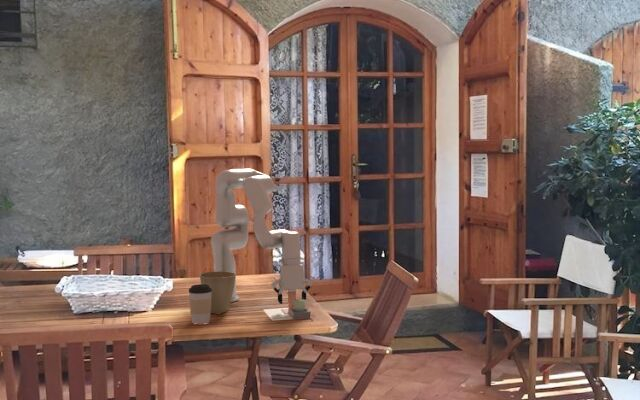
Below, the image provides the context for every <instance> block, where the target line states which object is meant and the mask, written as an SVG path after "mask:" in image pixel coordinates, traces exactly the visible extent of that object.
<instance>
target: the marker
mask: <svg viewBox="0 0 640 400" xmlns="http://www.w3.org/2000/svg"><path fill="white" fill-rule="evenodd" d="M287 297H288V298H287V305H288V306H287V308H288V311H289V312H290V310H289V309H294V300H296V299H297V289H294V290H287Z"/></svg>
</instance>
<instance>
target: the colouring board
mask: <svg viewBox="0 0 640 400" xmlns="http://www.w3.org/2000/svg"><path fill="white" fill-rule="evenodd" d="M263 312H264V313H265V314H266V315H267V316H268V317H269V318H270V320H271V321H272V322H273V321H284V320H285V321H287V320H294V319H293V318H292V317H291V316H290V312H289V311H288V307H281V308H280V307H278V308H267V309H266V308H265V309H263ZM312 318H313V317H312V316H311V318H310V319H312ZM299 319H301V320H302V318H299ZM299 319H298V320H299Z"/></svg>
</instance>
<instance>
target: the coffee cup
mask: <svg viewBox="0 0 640 400" xmlns="http://www.w3.org/2000/svg"><path fill="white" fill-rule="evenodd" d="M211 289H212V288H210V287H209V285H204V284H201V283H199V284H194V285H191V286H190V287H189V289H188V294H189V297H188V299H189V307H190V310H189V311H190V313H191V323H197V324H203V325H205V324H204V323H208V324H210V323H211V313H210V312H211V291H212V290H211ZM209 322H210V323H209Z"/></svg>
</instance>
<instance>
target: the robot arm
mask: <svg viewBox="0 0 640 400" xmlns="http://www.w3.org/2000/svg"><path fill="white" fill-rule="evenodd" d="M233 189H235V190H236V189H243V191H244V193H245V195H246V197H247V199H248V202H249V204H250V205H251V208H252V211H253V212H254V217H253V223H252V226H253V233H254V235H255V238H256V239H257V241H258V244H259V245H260V246H261V247H262V248H263V249H265V250H272V249H280V248H281V258H280V259H278V263H281V264H280V268H279V278H278V279H276V280H275V281H273V282H271V284H270V285H271V287H272V289H273V290H274V292H275V293H277V301H278V303H279V304H280V305H282V304H283V294H282V293H283V291H288V290H294V289H296V290H301V299H304V300H305V301H306V300H307V294H308V293H307V292H309V290H310V289H311V287H312V284H313V281H312V280H311V279H308V278H305V269H304V265H303V264H302V262H301V261H302V260H301V257H302V256H301V234H300V232H298V231H296V230H295V231H294V230H287V229H283V228H282V229H273V230H269V229H268V227H267V223H266V221H265V220H266V219H265V218H266V215H268V213H271V211H272V210H273V208H274V204H273V202H272V199H271V198H270V196H269V195H270V194H272V193H273V192H274V190H275V182H274V180H273V178H272V177H271V176H269V175H268V174H265V173H262V172H260V171H257V170H255V169H252V168H231V169H230V168H229V169H225V170H223V171H220V172H219V173H218V175H217V176H216V179H215V193H216V200H215V202H216V204H215V223H216V225H217V226H218V227H221V228H226V229H221V230H217V231H215V232H214V233H213V234H212V235H211V238H210V244H211V248H212V249H211V250H212V255H213V269H214V270H213V272H216V271H224V272H232V273H235V274H236V275H237V273H236V259H235V256H234V254H233V253H232V252H233V251H234V250H242V249H243V248H245V247H246V246H247V243H248V240H249V225H250V215H249V211H248V209H247V207H246V206H245V205H242V204H236V203H237V202H236V200H237V197H236V194H235V191H234V190H233ZM230 227H232V228H230ZM227 228H228V229H227ZM236 278H237V277H236ZM236 278H235V284H234V290H233V294H232V298H231V302H230V303H233V302H237V301H239V300H240V295H237V286H236V285H237V284H236V283H237V279H236ZM306 283H307V285H306ZM276 285H279V286H278V287H279V288H277V286H276Z"/></svg>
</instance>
